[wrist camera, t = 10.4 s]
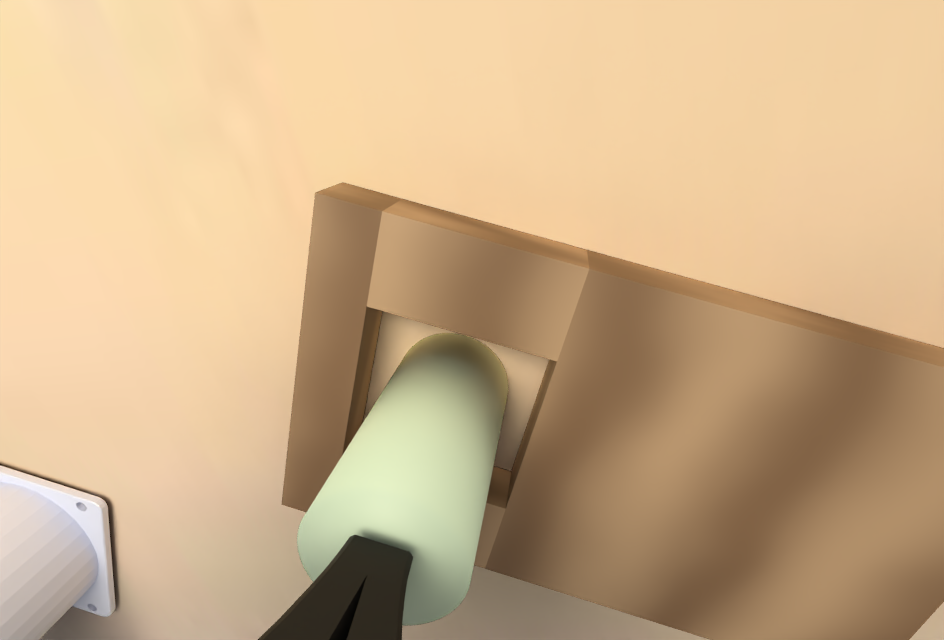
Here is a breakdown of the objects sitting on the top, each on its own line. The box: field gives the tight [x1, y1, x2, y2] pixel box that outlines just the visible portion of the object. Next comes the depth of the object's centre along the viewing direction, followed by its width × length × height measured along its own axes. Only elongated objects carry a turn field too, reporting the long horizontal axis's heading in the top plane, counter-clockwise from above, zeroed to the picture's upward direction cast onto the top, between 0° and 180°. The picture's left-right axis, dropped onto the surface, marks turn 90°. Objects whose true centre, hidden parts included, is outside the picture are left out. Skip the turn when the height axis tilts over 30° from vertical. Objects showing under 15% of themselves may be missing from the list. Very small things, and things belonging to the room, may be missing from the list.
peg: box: [297, 333, 508, 625], centre depth 15 cm, size 4×4×8 cm
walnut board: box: [282, 183, 944, 640], centre depth 18 cm, size 22×12×2 cm, turn 76°
